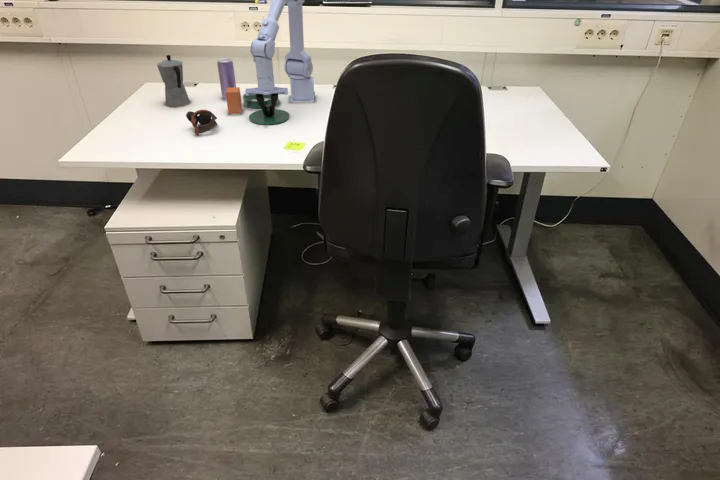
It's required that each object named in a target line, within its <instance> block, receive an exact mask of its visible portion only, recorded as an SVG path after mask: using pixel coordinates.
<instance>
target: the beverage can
mask: <svg viewBox="0 0 720 480" xmlns="http://www.w3.org/2000/svg"><path fill="white" fill-rule="evenodd" d="M216 65H217V73H218V78H219V85H220V86H219V87H220V91H221V92H220V93H221V98H222V100H226V93H225V92H226V90H227V88H229V87H237V82H236V73H235V67H234V61H233V58H231V57H220V58H218V59H216Z"/></svg>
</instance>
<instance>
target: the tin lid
mask: <svg viewBox="0 0 720 480" xmlns="http://www.w3.org/2000/svg"><path fill="white" fill-rule="evenodd" d="M265 112H266V116H264V114H263V111H262V109H258V110H256V111H253V112H251V113H250V114H249V115H248V120H249V121H250V122H251V123H253V124H256V125H262V126H263V125H264V126H266V125H268V126H269V125H277V124H282V123H284V122H286V121H288V120H289V119H290V113H289V112H288V111H287V110H283V109H280V108H275V110H274V115H272V105H269V104H268V105H265Z"/></svg>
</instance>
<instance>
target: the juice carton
mask: <svg viewBox="0 0 720 480" xmlns="http://www.w3.org/2000/svg"><path fill="white" fill-rule="evenodd" d="M225 93H226V99H225V100H226V105H227V111H228V112H227V113H228V115H232V114H233V115H235V114H236V115H237V114H240V115H241V114H242V110H243V104H242V103H243V101H242V96H241V87H239V86H236V87H229V88H227V90H226V92H225Z"/></svg>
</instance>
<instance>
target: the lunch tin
mask: <svg viewBox="0 0 720 480" xmlns="http://www.w3.org/2000/svg"><path fill="white" fill-rule="evenodd" d="M279 98H280V96H278V99H277V102H276V105H275V107H276V106H278V105H279V104H280V99H279ZM264 102H265V105H268V104H269V105H272V104H271V95H264ZM242 103H243V106H244V107H245V108H247V109H250V110H262V108H261V106H260V104H259V103H258V101H257V100H256V95H249V96H246V92H245V93H244V94H243V95H242Z"/></svg>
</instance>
